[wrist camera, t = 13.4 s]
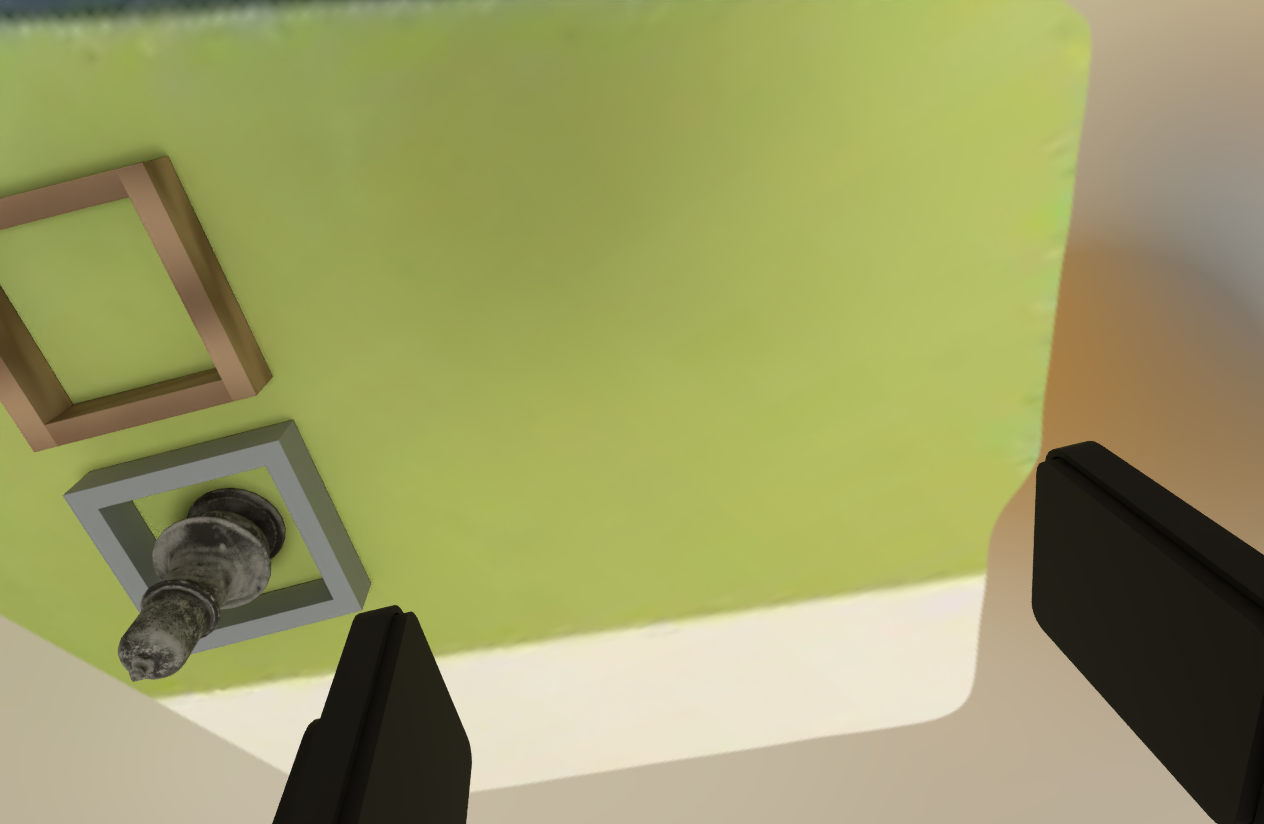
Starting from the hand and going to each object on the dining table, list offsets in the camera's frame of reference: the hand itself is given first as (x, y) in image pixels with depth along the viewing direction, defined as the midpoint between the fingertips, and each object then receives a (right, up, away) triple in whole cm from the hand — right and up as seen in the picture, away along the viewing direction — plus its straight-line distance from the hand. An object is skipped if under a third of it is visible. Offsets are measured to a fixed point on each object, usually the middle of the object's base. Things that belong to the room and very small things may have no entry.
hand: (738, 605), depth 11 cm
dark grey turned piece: (-24, -4, +32) cm, 41 cm away
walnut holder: (-27, +8, +26) cm, 39 cm away
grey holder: (-24, -4, +32) cm, 40 cm away
